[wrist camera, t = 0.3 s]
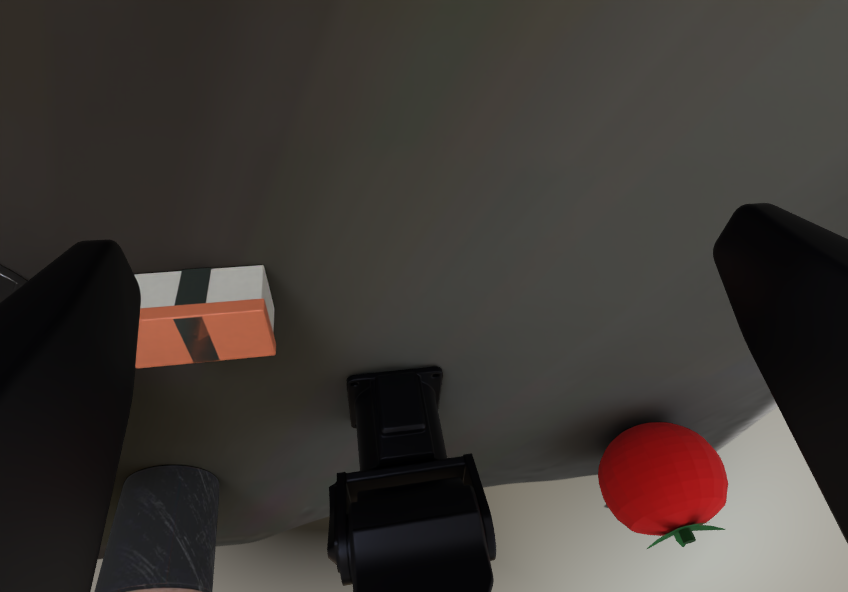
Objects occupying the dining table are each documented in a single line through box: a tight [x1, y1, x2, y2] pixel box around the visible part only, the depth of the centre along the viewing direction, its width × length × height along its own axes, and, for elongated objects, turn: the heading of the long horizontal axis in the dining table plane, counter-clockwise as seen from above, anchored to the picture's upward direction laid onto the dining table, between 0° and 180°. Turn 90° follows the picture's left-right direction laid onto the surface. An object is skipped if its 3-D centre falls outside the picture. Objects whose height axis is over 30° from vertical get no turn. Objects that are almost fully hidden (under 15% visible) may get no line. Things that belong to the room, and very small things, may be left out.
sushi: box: [134, 265, 276, 368], centre depth 26 cm, size 7×4×3 cm, turn 87°
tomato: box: [598, 422, 728, 549], centre depth 46 cm, size 10×10×10 cm
